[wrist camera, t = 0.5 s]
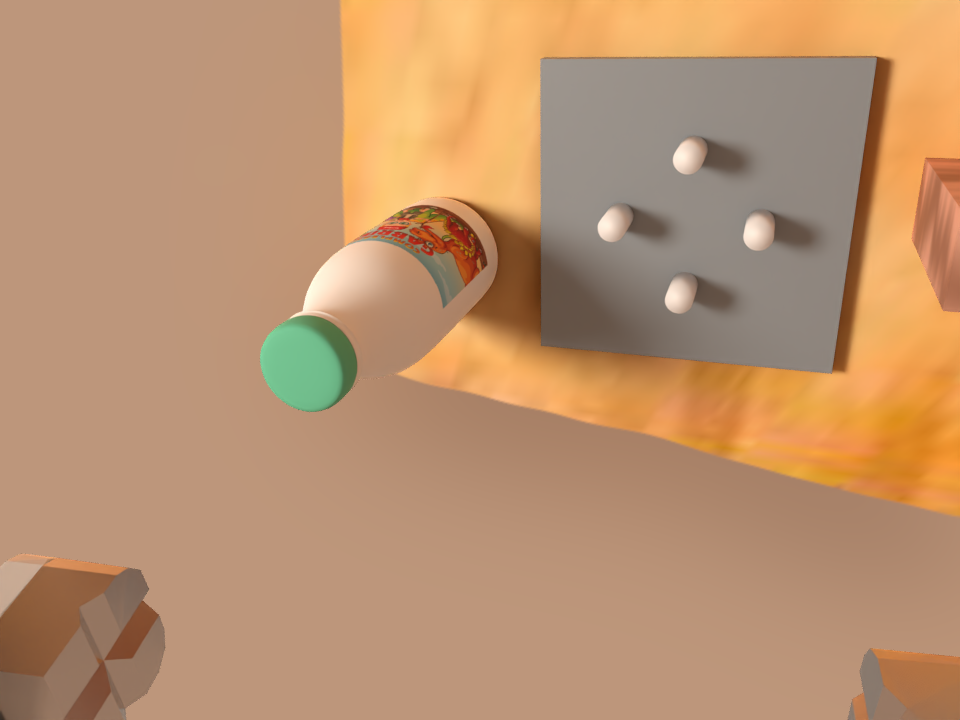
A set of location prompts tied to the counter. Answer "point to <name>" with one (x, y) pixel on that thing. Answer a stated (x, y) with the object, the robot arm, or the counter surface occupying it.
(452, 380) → the counter surface
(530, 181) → the counter surface
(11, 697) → the robot arm
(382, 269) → the milk bottle
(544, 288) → the peg plate
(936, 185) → the terracotta post
